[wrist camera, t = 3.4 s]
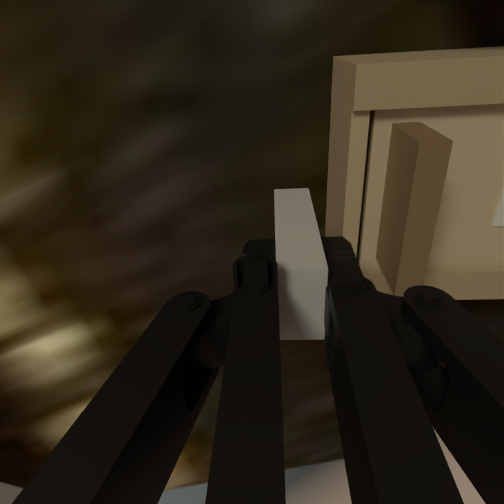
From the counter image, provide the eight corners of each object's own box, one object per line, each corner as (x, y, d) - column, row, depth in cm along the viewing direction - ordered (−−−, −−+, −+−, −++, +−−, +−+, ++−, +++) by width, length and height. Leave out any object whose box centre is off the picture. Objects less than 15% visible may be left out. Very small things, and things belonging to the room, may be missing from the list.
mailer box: (324, 247, 27) (338, 302, 21) (333, 56, 21) (356, 63, 15) (562, 240, 26) (641, 296, 20) (643, 37, 20) (787, 38, 14)
